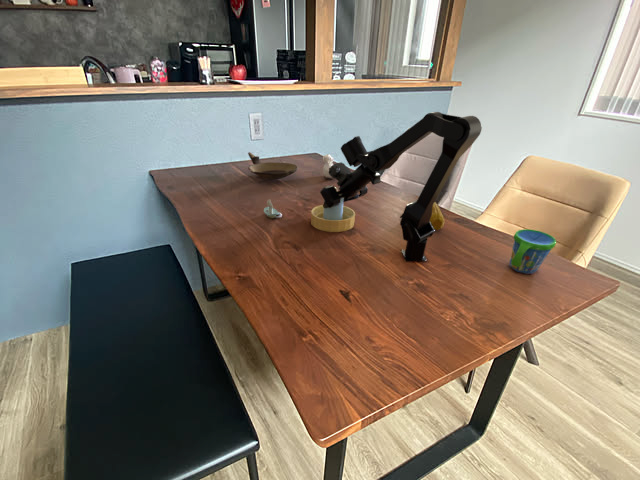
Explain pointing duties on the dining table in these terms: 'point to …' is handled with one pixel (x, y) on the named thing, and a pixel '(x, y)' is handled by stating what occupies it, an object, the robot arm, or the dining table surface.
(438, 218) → the food
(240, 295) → the dining table surface
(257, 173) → the oil lamp
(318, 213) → the bowl
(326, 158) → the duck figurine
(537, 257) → the snack cup
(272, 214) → the pacifier
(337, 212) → the baby bottle
